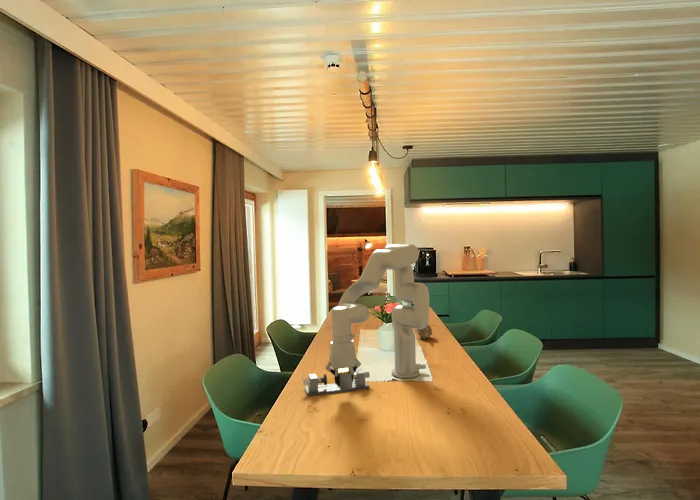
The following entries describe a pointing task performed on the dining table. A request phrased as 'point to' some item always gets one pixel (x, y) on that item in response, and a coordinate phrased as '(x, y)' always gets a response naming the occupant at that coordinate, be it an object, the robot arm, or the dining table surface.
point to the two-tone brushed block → (345, 379)
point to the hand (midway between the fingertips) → (344, 383)
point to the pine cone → (425, 332)
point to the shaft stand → (333, 388)
